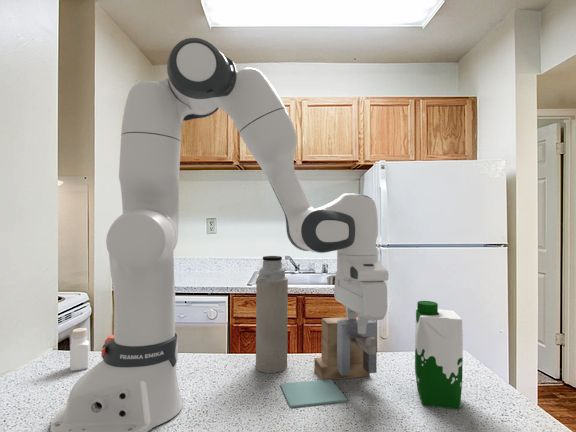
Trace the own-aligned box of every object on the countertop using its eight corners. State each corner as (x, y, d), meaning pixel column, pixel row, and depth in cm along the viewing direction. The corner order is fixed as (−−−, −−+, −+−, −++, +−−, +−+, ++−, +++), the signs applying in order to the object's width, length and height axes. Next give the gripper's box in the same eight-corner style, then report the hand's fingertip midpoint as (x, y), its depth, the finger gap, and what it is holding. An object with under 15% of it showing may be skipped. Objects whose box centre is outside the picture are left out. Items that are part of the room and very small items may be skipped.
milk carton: (412, 387, 82) (412, 297, 82) (455, 391, 80) (456, 300, 80) (418, 407, 73) (418, 307, 74) (467, 412, 71) (467, 309, 72)
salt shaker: (69, 372, 89) (70, 332, 89) (70, 366, 92) (70, 328, 92) (88, 369, 91) (89, 330, 91) (88, 363, 94) (88, 326, 94)
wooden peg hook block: (343, 410, 72) (344, 341, 72) (314, 370, 91) (314, 315, 91) (399, 403, 75) (399, 337, 75) (359, 366, 94) (359, 313, 94)
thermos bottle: (267, 358, 99) (268, 254, 99) (293, 364, 94) (293, 255, 95) (249, 368, 92) (250, 256, 92) (275, 375, 88) (276, 258, 88)
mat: (290, 407, 73) (290, 405, 73) (280, 385, 82) (280, 383, 82) (347, 401, 75) (347, 399, 75) (330, 380, 85) (330, 378, 85)
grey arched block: (342, 375, 78) (342, 324, 78) (337, 370, 81) (337, 320, 81) (376, 372, 80) (376, 322, 80) (370, 367, 83) (370, 318, 83)
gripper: (328, 262, 90) (327, 318, 90) (363, 274, 70) (362, 346, 70) (352, 261, 92) (351, 317, 92) (393, 273, 72) (392, 344, 72)
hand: (356, 330), depth 81 cm, fingers closed on grey arched block, 3 cm apart
